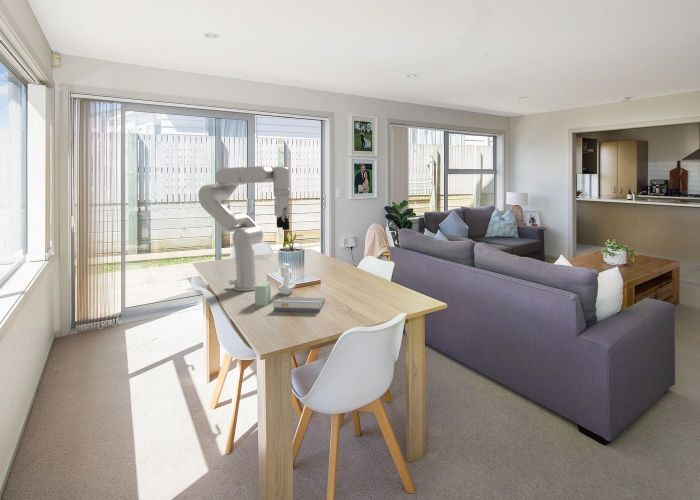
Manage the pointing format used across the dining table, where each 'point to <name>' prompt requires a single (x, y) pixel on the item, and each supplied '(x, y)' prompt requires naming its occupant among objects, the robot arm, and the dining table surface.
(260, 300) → the tea box
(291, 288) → the figurine
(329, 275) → the dining table surface
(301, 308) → the grey flat box
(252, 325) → the dining table surface
